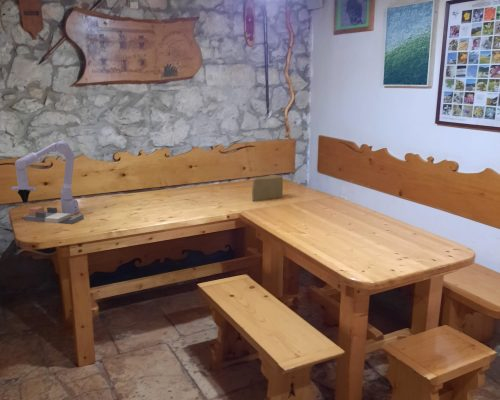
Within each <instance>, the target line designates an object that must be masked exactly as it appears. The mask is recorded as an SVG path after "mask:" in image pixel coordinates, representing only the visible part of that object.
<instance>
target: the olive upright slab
mask: <svg viewBox="0 0 500 400" xmlns="http://www.w3.org/2000/svg"><path fill="white" fill-rule="evenodd" d="M251 186H252V187H251V188H252V189H251V195H252V196H251V197H252V198H251V199H252V202H260V201H266V200H272V199H279V198H282V197H283V193H284V192H283V190H284V189H283V188H284V178H283V176H282V175H277V174H270V175H266V176H262V177H255V178H253V180H252V185H251Z"/></svg>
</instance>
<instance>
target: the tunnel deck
mask: <svg viewBox="0 0 500 400" xmlns="http://www.w3.org/2000/svg"><path fill="white" fill-rule="evenodd" d="M35 214H36V216H33V215H29V214H27V215H24V216H23V217H24V221H25V220H26V221H27V222H40V223H50V224H51V223H52V224H65V225H73V224H75V223H77V222H80V221H82V220H84V218H85V217H84V214H78V215H76V216H73V217H71V216H72V215H70V214H69V213H61V212H58V207H53V206H52V207H49V206H48V207H46V211H44V212H35Z"/></svg>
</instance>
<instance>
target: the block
mask: <svg viewBox="0 0 500 400" xmlns="http://www.w3.org/2000/svg"><path fill="white" fill-rule="evenodd" d="M44 208H45V207H44V206H39V205H35V206H32V207H28V208H27V211H28V215H33V216H36V214H35V212H45V209H44Z"/></svg>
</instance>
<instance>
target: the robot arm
mask: <svg viewBox="0 0 500 400" xmlns="http://www.w3.org/2000/svg"><path fill="white" fill-rule="evenodd" d="M52 152H53V153H56V152H59V153H60V154H62V155H63V157H65V165H64V166H65V167H64V173H63V183H62V188H61V189H60V197H61V198H60V206H61V212H60V213H69V214H70V216H74V215H76V214H78V213H80V209H79V201H78V200H77V199H74V197H73V193H72V192H73V191H72V181H73V172H74V163H75V153H74V151H73V150H72V148H71V146H70V145H69V144H68V142H66V141H65V140H63V139H62V140H59V141H57V142H54V143H51V144H49V145H47V146H45V147H44V148H42V149H40V150H39V151H37V152H33V151H32V152H28V153H27V154H26V155H24V156H22V157H20V158H19V159H17V160H16V161H15V163H14V167H15V171H16V173H15V174H16V181H17V186H11V187H10V188H11V189H10V190H11V191H17V195H19V197H20V199H21V200H22V203H23V204H26V203H28V202H29V196H30V193H31V191H32V192H34V191H37V187H36V186H30V185H29V179H28V172H27V167H29V166H31V165H32V164H35V163H37V162H38V161H39V159H40V158H41V157H43V156H45V155H48V154H49V153H52Z"/></svg>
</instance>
